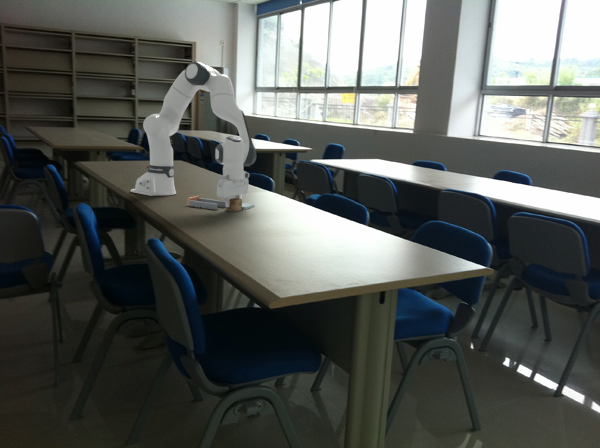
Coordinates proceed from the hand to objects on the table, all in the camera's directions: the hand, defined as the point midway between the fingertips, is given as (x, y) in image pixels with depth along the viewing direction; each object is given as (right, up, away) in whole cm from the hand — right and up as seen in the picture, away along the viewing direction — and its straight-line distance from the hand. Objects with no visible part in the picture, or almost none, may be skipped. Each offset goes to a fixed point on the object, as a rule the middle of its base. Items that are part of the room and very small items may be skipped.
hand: (232, 205), depth 228 cm
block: (+1, -2, 0) cm, 2 cm away
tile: (+3, 0, +9) cm, 9 cm away
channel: (-11, 0, +5) cm, 12 cm away
